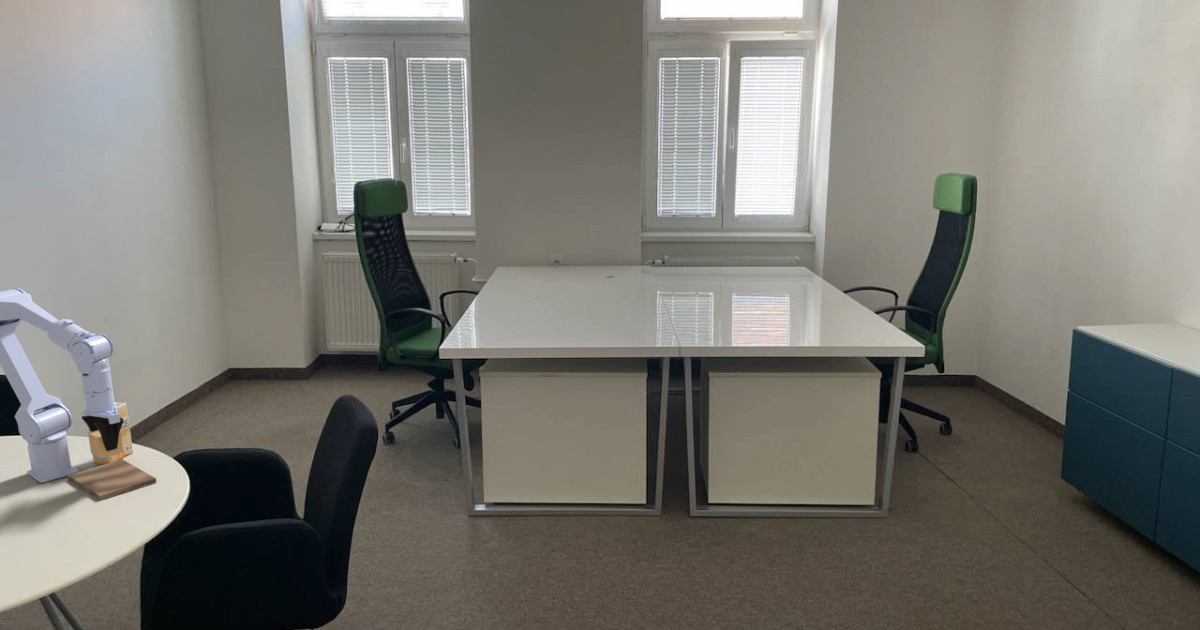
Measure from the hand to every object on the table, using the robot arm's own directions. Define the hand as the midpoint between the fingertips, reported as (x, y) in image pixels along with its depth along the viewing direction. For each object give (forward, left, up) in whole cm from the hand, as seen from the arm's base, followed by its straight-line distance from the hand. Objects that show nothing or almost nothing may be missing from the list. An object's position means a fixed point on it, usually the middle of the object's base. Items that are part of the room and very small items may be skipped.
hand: (106, 446), depth 204 cm
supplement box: (-14, +6, -9) cm, 18 cm away
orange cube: (0, 0, -2) cm, 2 cm away
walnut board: (0, 0, -8) cm, 8 cm away
